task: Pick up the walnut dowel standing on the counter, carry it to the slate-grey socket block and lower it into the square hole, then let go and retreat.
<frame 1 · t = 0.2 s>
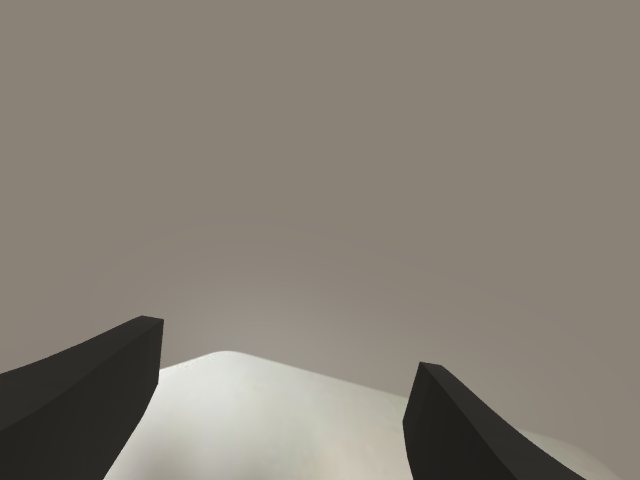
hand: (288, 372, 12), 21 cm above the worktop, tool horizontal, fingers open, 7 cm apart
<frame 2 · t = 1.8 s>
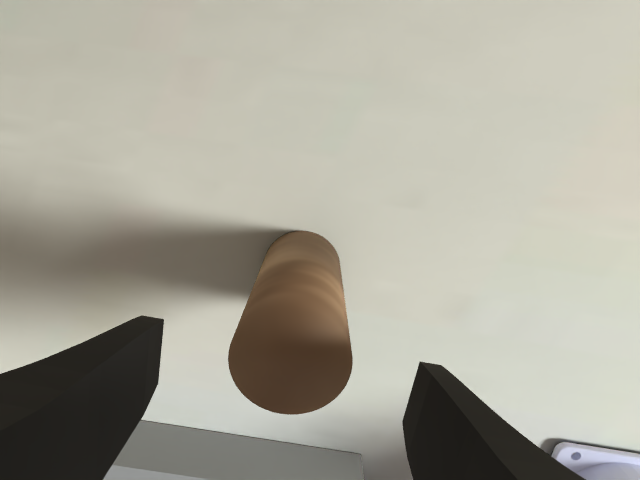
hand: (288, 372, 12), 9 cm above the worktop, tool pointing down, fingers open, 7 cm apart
dowel: (301, 267, 20), on the worktop
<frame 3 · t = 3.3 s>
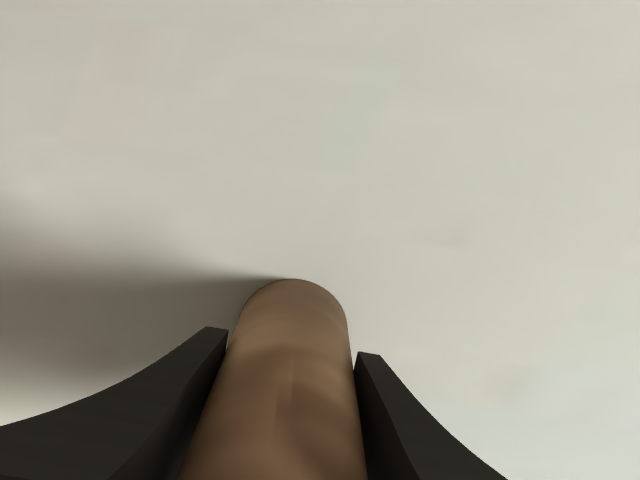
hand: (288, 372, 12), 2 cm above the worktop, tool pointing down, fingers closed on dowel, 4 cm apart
dowel: (293, 329, 14), on the worktop, touching gripper
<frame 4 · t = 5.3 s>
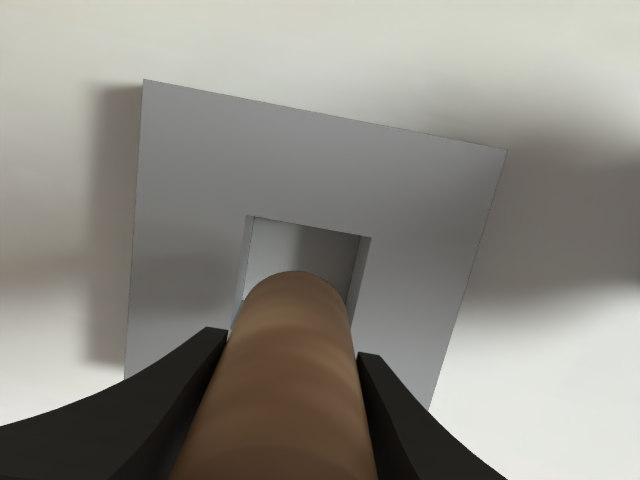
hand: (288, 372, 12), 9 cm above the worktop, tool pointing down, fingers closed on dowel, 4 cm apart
dowel: (294, 322, 14), point 7 cm above the worktop, touching gripper
socket block: (301, 261, 21), on the worktop
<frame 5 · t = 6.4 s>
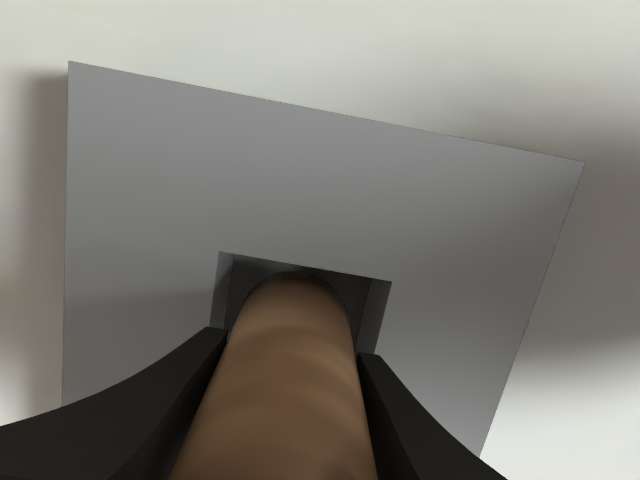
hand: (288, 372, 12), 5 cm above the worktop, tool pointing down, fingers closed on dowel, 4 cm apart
dowel: (294, 322, 14), point 2 cm above the worktop, touching gripper
socket block: (296, 302, 16), on the worktop
when the fingers open (4 cm above the worktop, at t = 7.3 s): dowel drops 2 cm, resting in socket block.
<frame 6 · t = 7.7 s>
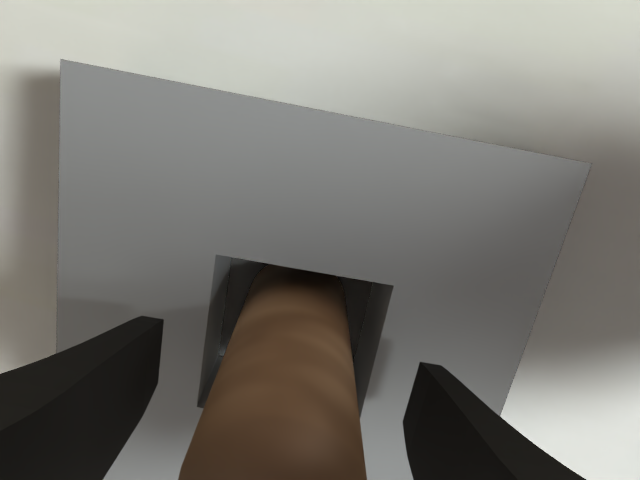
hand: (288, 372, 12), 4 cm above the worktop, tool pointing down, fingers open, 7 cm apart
dowel: (296, 302, 16), resting in socket block
socket block: (295, 306, 16), on the worktop
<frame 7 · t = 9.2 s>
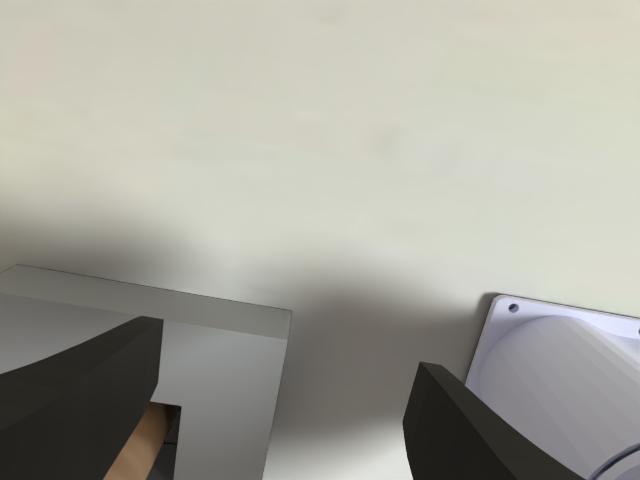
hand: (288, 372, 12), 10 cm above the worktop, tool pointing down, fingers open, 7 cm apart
dowel: (148, 399, 23), resting in socket block
socket block: (147, 402, 24), on the worktop
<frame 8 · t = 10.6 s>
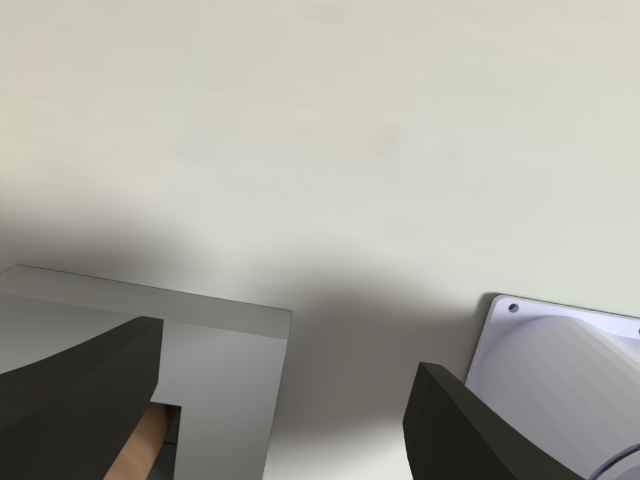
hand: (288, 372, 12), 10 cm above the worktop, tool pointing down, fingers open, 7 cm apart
dowel: (148, 399, 23), resting in socket block
socket block: (147, 402, 24), on the worktop
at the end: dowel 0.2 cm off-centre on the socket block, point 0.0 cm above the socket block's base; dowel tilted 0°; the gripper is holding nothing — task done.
